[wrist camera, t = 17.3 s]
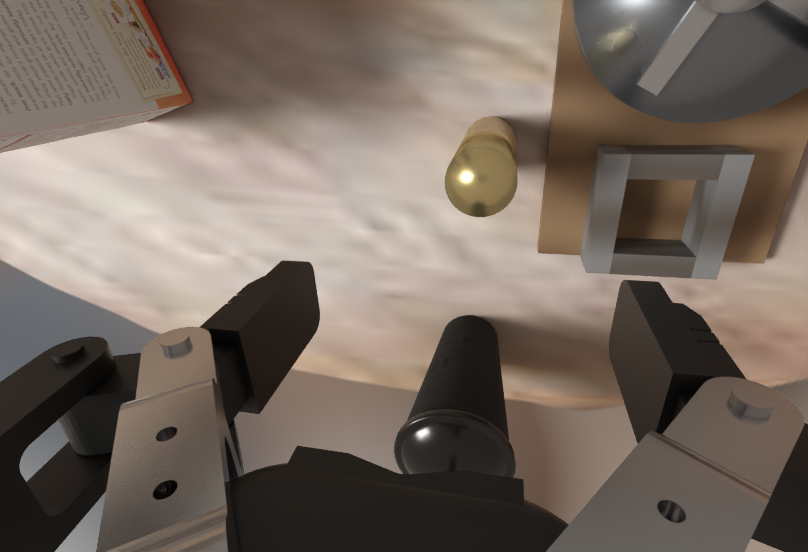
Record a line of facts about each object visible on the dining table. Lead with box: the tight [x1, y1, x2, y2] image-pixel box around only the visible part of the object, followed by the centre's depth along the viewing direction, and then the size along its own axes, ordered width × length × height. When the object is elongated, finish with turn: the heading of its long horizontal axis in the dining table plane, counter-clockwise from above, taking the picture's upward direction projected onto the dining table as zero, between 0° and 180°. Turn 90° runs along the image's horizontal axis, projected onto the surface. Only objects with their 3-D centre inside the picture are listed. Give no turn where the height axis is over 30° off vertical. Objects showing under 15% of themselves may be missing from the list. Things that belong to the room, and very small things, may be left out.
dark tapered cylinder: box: [394, 316, 516, 478], centre depth 31 cm, size 8×8×20 cm
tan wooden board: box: [538, 0, 808, 280], centre depth 26 cm, size 23×15×4 cm, turn 2°
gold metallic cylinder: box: [445, 117, 517, 217], centre depth 27 cm, size 4×4×11 cm
